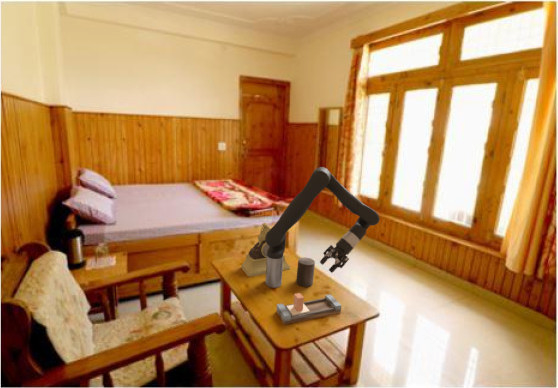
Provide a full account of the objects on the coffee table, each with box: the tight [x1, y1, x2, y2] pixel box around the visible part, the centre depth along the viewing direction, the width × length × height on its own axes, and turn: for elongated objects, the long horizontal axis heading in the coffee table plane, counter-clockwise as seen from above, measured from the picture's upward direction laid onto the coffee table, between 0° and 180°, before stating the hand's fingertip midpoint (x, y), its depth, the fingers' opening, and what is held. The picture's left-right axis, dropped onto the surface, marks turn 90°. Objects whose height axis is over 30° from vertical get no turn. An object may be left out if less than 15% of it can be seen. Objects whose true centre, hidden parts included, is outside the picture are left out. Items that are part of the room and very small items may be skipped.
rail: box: [276, 293, 342, 325], centre depth 143 cm, size 10×30×4 cm, turn 112°
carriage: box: [285, 292, 310, 316], centre depth 140 cm, size 7×9×8 cm
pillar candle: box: [295, 256, 316, 288], centre depth 169 cm, size 10×10×15 cm
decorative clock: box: [240, 222, 291, 278], centre depth 182 cm, size 28×13×30 cm, turn 117°
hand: (325, 267), depth 141 cm, fingers open, 8 cm apart
